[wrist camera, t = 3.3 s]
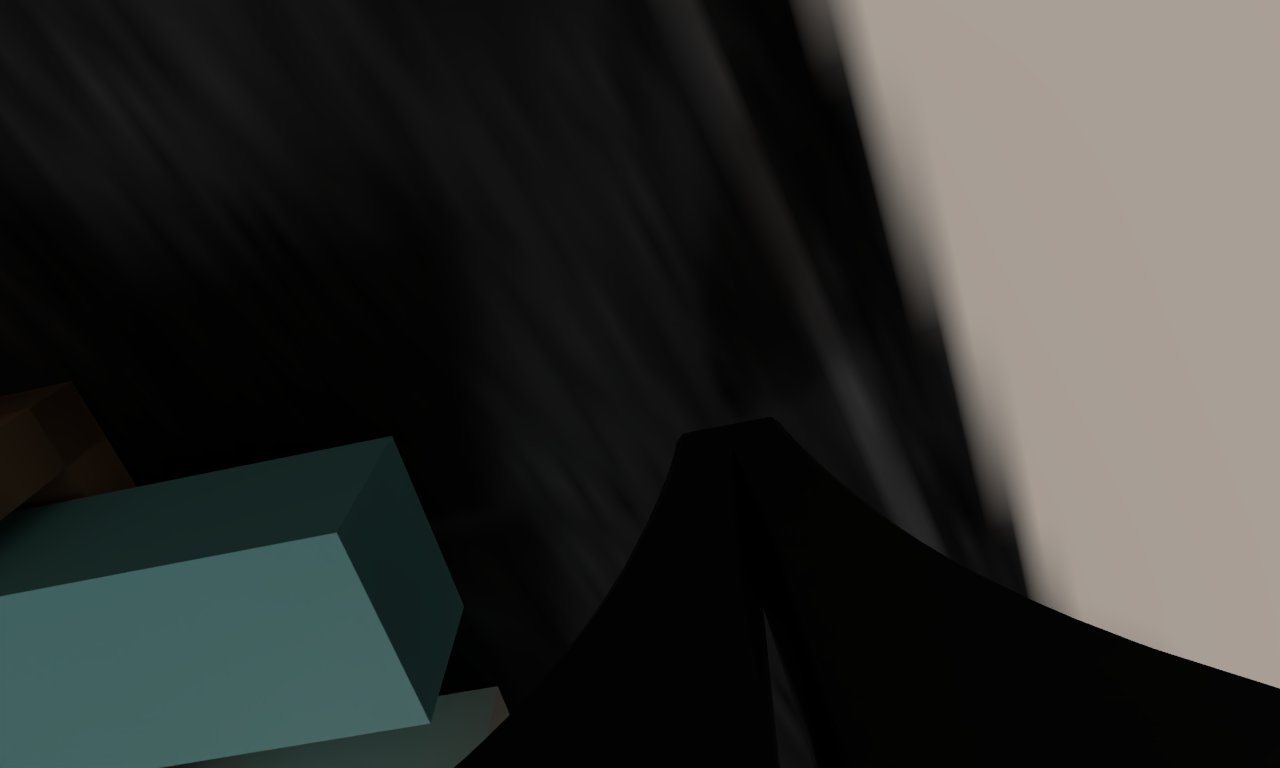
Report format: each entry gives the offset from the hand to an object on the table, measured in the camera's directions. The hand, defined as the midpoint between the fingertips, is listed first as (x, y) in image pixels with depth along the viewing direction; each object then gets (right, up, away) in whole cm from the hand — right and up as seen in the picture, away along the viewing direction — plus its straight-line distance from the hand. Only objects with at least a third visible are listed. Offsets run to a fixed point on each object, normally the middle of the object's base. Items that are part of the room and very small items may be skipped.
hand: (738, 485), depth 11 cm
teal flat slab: (-8, -1, +1) cm, 9 cm away
